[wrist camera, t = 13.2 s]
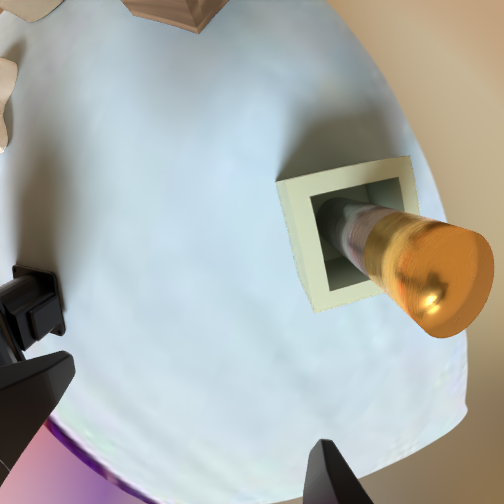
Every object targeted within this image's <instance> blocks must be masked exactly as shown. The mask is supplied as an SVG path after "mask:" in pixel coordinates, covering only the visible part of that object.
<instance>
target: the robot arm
mask: <svg viewBox="0 0 504 504" xmlns="http://www.w3.org/2000/svg"><path fill="white" fill-rule="evenodd" d="M12 271H13V278H14V279H13V280H12V281H10V282H8V283H6V284H4V285H2V286H0V487H1V485H2V484H3V482H4V480H5V479H6V477H7V476H8V474H9V472H10V471H11V469H12V468H13V466H14V465H15V463H16V462H17V460H18V459H19V457H20V456H21V454H22V453H23V451H24V450H25V448H26V447H27V446H28V444H29V443H30V441H31V440H32V438H33V437H34V435H35V434H36V433H37V431H38V430H39V429H40V427H41V426H42V424H43V423H44V422H45V420H46V419H47V418H48V416H49V415H50V414H51V412H52V411H53V410H54V408H55V407H56V406H57V404H58V403H59V401H60V399H61V398H62V396H63V394H64V392H65V391H66V389H67V387H68V386H69V384H70V382H71V381H72V379H73V377H74V375H75V365H74V359H73V356H72V355H71V354H69V353H68V352H66V351H59V352H55V353H51V354H48V355H44V356H40V357H36V358H33V359H29V360H26V359H25V357H24V355H23V352H22V350H23V351H26V350H27V349H28V348H29V347H30V346H31V345H33V344H34V343H35V342H36V341H40V340H41V339H42V338H43V337H44V336H45V335H47V334H48V333H52V334H55V335H58V336H63V335H64V334H65V329H64V324H63V319H62V314H61V308H60V302H59V295H58V288H57V280H56V276H55V274H54V273H53V272H49V271H44V270H39V269H35V268H30V267H26V266H21V265H17V264H16V265H14V266H13V267H12ZM51 278H52V279H51ZM303 504H374V503H373V502H372V500H371V499H370V497H369V496H368V494H367V493H366V491H365V490H364V488H363V487H362V485H361V484H360V482H359V481H358V479H357V478H356V476H355V475H354V473H353V472H352V470H351V469H350V467H349V465H348V464H347V462H346V461H345V459H344V458H343V456H342V455H341V453H340V452H339V450H338V448H337V447H336V445H335V444H334V442H333V441H332V440H329V439H320V440H319V441H318V442H317V443H316V445H315V446H314V447H313V449H312V450H311V452H310V454H309V459H308V466H307V472H306V478H305V484H304V491H303Z"/></svg>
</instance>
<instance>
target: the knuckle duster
mask: <svg viewBox="0 0 504 504" xmlns="http://www.w3.org/2000/svg"><path fill="white" fill-rule="evenodd" d="M17 73H18V68H17V65H16V63H15V62H12V61H9V60H7V59H4V58H1V57H0V154H1V153H3V152H4V150H5V147H6V146H7V143H8V135H7V130H6V125H5V122H4V119H3V113H4V108H5V105H6V103H7V101H8V99H9V97H10V95H11V93H12V91H13V89H14V86H15V83H16V79H17Z"/></svg>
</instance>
